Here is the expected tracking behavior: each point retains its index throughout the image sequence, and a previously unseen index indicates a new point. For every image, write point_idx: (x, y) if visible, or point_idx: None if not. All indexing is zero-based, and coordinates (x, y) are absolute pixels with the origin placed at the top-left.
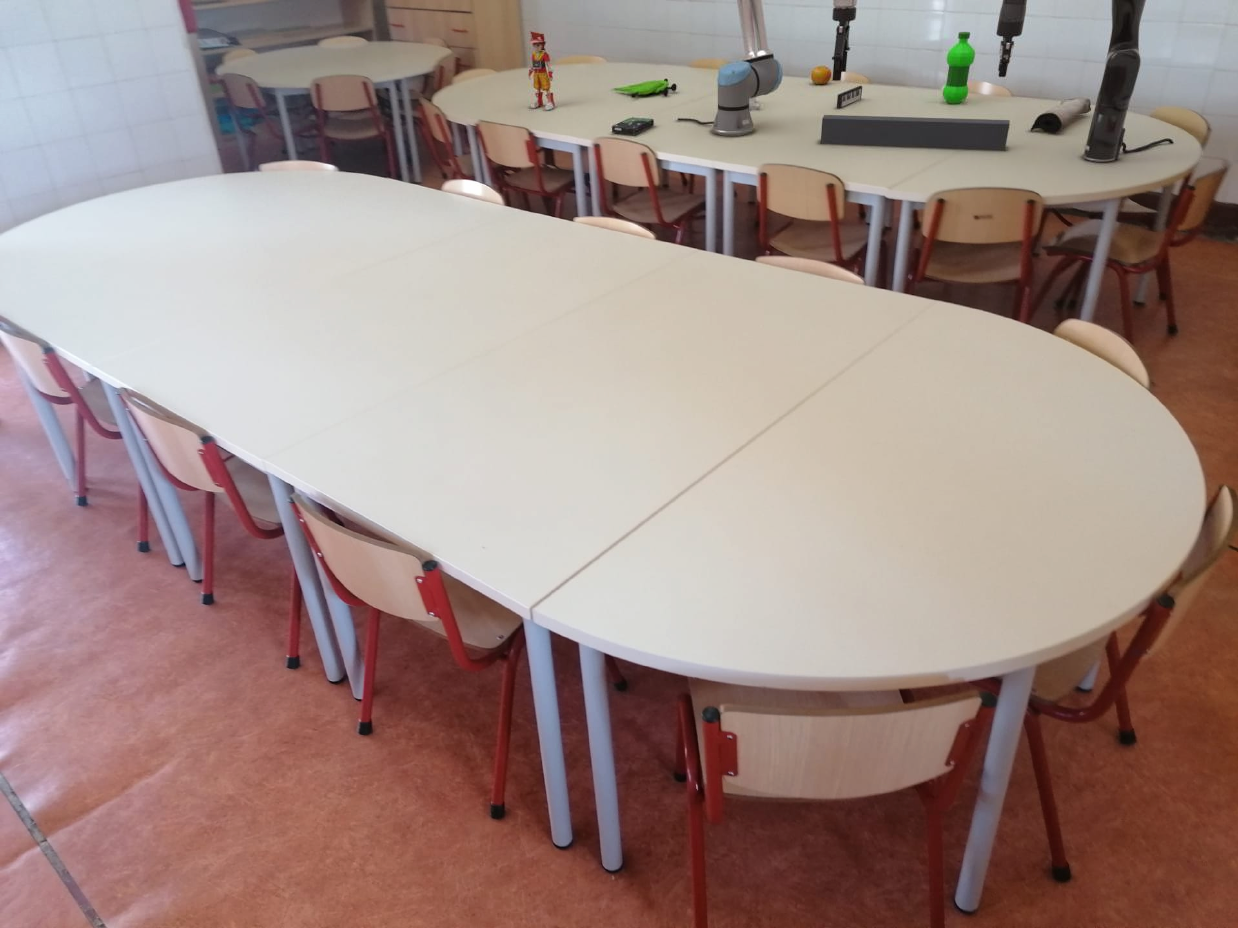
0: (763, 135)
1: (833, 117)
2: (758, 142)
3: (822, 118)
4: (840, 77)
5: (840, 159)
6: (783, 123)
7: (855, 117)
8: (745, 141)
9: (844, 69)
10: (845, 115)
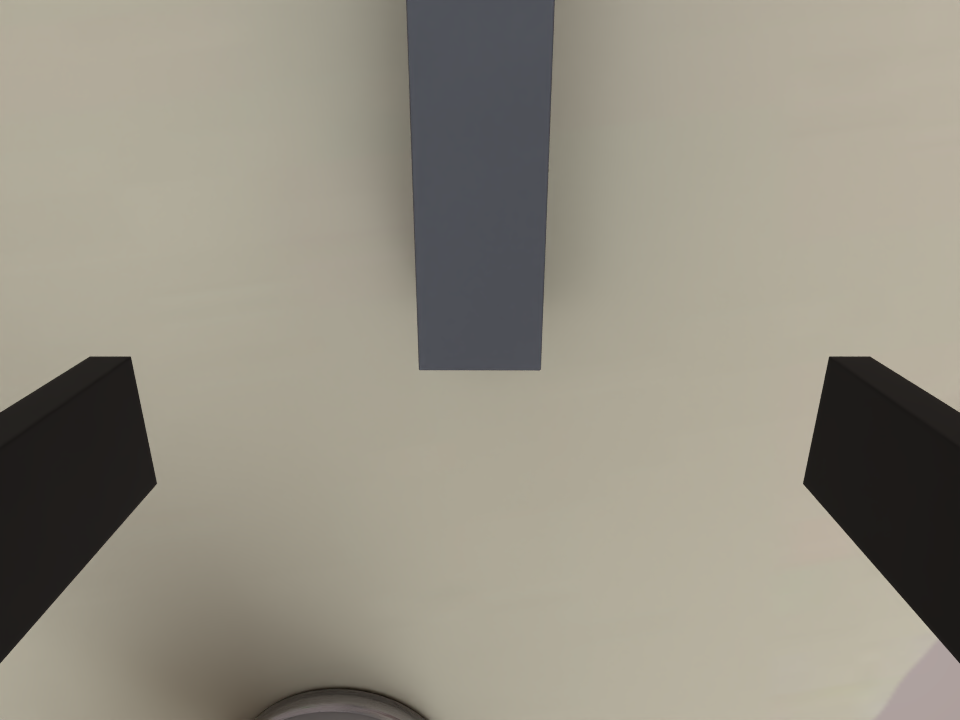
0: (386, 631)
1: (502, 284)
2: (528, 631)
3: (540, 369)
4: (900, 385)
5: (886, 128)
6: (107, 578)
7: (477, 76)
8: (517, 687)
9: (107, 396)
10: (416, 185)
